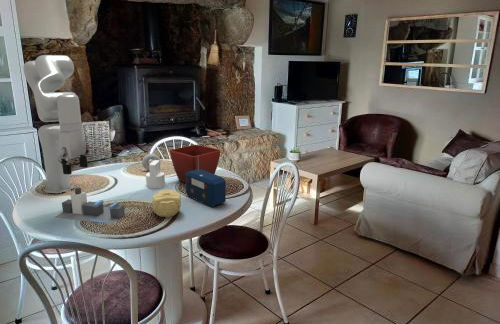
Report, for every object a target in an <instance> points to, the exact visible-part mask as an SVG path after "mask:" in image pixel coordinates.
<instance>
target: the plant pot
mask: <svg viewBox="0 0 500 324" xmlns="http://www.w3.org/2000/svg"><path fill="white" fill-rule="evenodd" d="M221 151H222V150H221V149H217V148H213V147H210V146H206V145H205V146H204V145H200V144H191V145H186V146H183V147H178V148H173V149H169V154H170V155H169V156H170V158H171V162H172V166H173V169H174V172H175V174H176V176H177V179H178V181H179V182H181V181H182V183H184V182H186V176H185V173H187V172H189V171H193V170H197V169H198V159H199V169H201V170H204V171H207V172H209V173H212V174H215V175H216V171H217V168H218V164H219V160H220V158H221V157H220V156H221Z"/></svg>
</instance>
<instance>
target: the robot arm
mask: <svg viewBox="0 0 500 324" xmlns="http://www.w3.org/2000/svg"><path fill="white" fill-rule="evenodd" d="M22 69H23V74H24V77H25V80H26V83H28V85H29V87H30V88H31V91H32V94H33V96H34V101H35V102H34V103H35V106H36V112H37V115H38V118H39V119H40V121H42V122H44V123H49V122H50V123H51V122H59V123H51V124H45V125H42V126H40V127H38V130H37V131H38V132H37V134H38V138H39V142H40V145H41V149H42V156H43V160H44V161H43V162H44V168H45V177H46V179H43V180H42V182H41V183H40V185H43V186H45V188H44V189H43V190H44V193H45V194H48V193H60V194H63V193H62V192H65V193H67V192H66V191H68V192H70V191H69V190H71V189H73V188H74V189H75V185H74V184H73V183H71V182H70V175H72V171H73V170H72V165H71V159H74V158H77V157H78V161H79V167H80V168H85V169H86V168H88V167H89V166H88V165H89V163H88V156H89V155H88V154H89V149H90V145H89V144H88V143H86V139H85V134H84V132H83V124H82V115H81V106H80V98H79V96H78V95H77V94H76V93H75V92H72V91H64V92H60V91H59V92H57V91H58V90H60V89H61V88H63V87H64V85H65V83H66V80H67V79H68V78H70V77H71V76H73V75H74V71H75V65H74V62H73V60H72V59H71V57H69V56H68V55H65V54H64V55H63V54H58V55H57V54H56V55H55V54H44V55H43V54H42V55H39V56H38V57H36V58H35V60H29V61H25V63H24V64H23V68H22ZM74 189H73V190H74ZM71 191H72V190H71Z"/></svg>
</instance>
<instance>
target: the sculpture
mask: <svg viewBox="0 0 500 324" xmlns="http://www.w3.org/2000/svg"><path fill="white" fill-rule="evenodd" d="M151 203H152V205H151V206H152V209H153V212H154V213H155V214H156V216H158V217H161V218H169V217H173V216H176V215H177V214H178V213H179V211H180V209H181V206H182V200H181V194H180V193H179V192H177V191H175V190H174V189H162V190H158V191H157V192H156V193H155V194H153V195H152V202H151Z"/></svg>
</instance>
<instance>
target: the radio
mask: <svg viewBox="0 0 500 324" xmlns="http://www.w3.org/2000/svg"><path fill="white" fill-rule="evenodd" d="M185 176H186V183H185V193H186V195H187V196H188V195H189V196H191V197H193V198H195V199H197V200H196V201H197V202H200V203H201V204H204V205H206V206H208V207H214V206H217V205H220V204H223V203H226V200H227V199H226V195H227V193H226V190H227V185H226V184H227V182H226V180H225V179H224V178H223V176H220V175H217V174H216V173H215V174H212V173H209V172H207V171H204V170H201V169H199V159H198V169H197V170H193V171H189V172H187V173H185ZM189 196H188V197H189ZM191 197H190V198H191ZM193 198H192V199H193ZM195 199H194V200H195Z"/></svg>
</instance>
